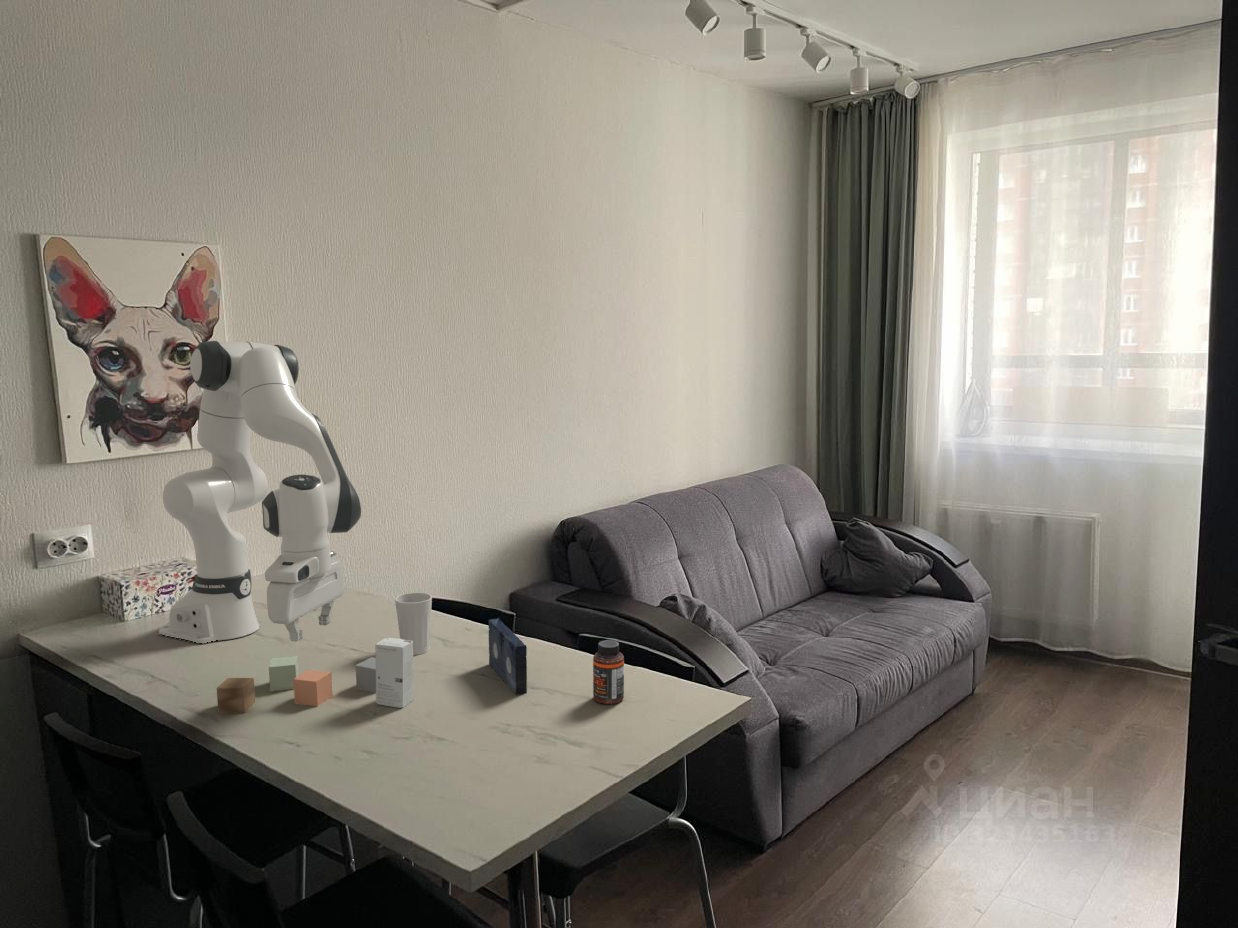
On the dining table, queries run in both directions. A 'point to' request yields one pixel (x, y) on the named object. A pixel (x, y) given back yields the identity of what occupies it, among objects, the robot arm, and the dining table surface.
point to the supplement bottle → (608, 673)
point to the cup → (415, 619)
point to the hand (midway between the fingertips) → (311, 632)
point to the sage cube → (283, 673)
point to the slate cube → (366, 675)
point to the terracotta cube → (312, 687)
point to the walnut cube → (236, 695)
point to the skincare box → (394, 672)
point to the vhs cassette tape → (508, 656)
